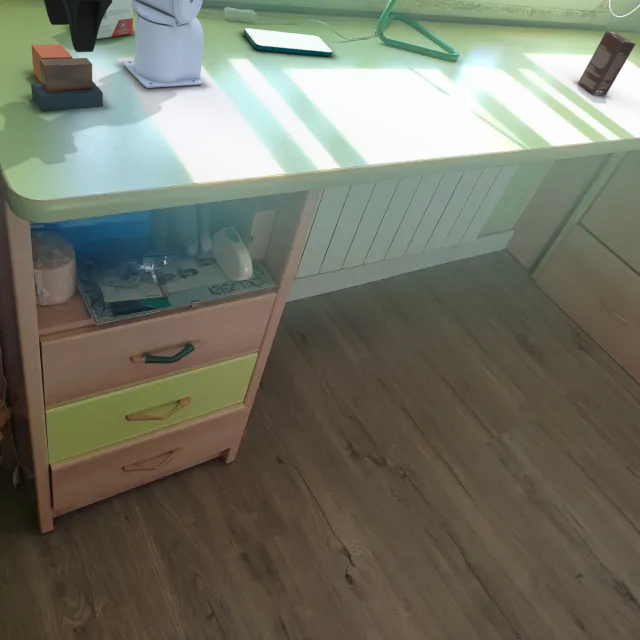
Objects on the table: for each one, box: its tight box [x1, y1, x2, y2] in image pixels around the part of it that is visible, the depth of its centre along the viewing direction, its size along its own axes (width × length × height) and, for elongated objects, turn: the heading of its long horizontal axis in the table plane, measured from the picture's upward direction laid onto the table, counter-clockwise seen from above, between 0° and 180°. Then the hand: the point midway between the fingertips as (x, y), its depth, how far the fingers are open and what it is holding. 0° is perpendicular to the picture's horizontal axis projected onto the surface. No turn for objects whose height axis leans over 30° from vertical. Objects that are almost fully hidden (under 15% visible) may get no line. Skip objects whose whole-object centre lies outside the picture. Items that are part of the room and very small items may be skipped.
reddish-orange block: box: [31, 43, 73, 83], centre depth 83 cm, size 4×4×4 cm
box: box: [577, 30, 637, 96], centre depth 137 cm, size 6×4×12 cm
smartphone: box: [243, 27, 334, 57], centre depth 115 cm, size 8×1×16 cm
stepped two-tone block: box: [30, 57, 104, 112], centre depth 79 cm, size 8×4×6 cm, turn 127°
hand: (71, 37), depth 74 cm, fingers open, 7 cm apart
